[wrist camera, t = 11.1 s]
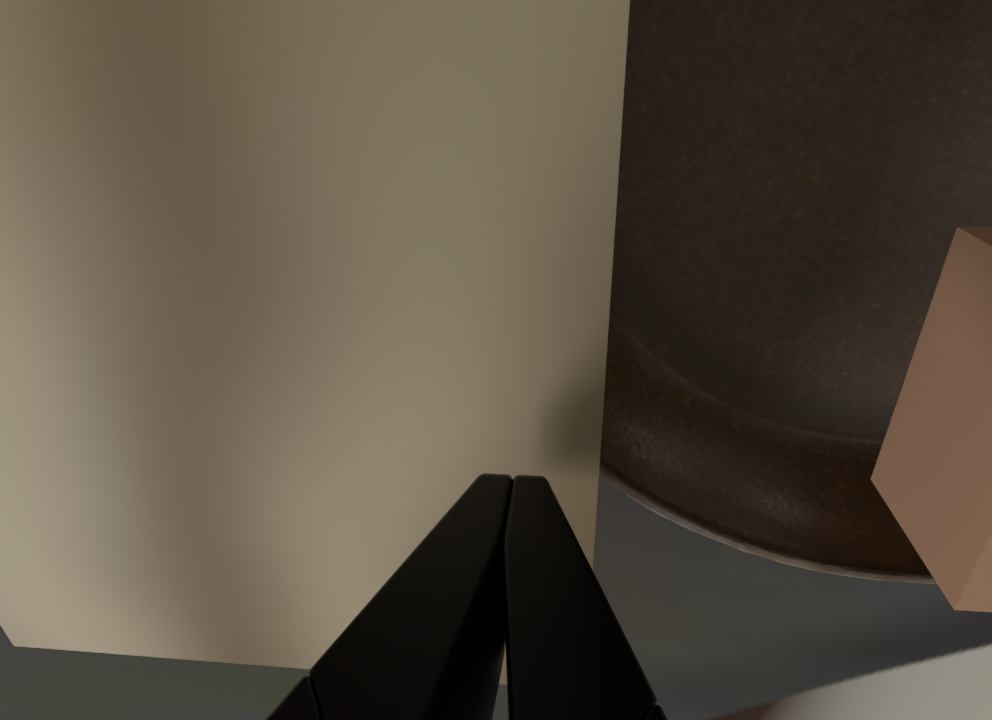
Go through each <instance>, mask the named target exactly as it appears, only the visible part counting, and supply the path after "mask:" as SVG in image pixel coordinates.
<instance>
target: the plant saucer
mask: <svg viewBox="0 0 992 720" xmlns="http://www.w3.org/2000/svg"><path fill="white" fill-rule="evenodd" d="M957 227H992V0H630V7H629V22H628V38H627V53H626V68H625V83H624V99H623V114H622V129H621V145H620V160H619V175H618V190H617V206H616V221H615V236H614V252H613V267H612V282H611V298H610V313H609V328H608V343H607V359H606V374H605V389H604V405H603V420H602V435H601V450H600V466H599V477H600V478H602V479H603V480H604V481H606V482H607V483H608V484H610V485H612V486H613V487H615V488H616V489H618V490H620V491H621V492H623V493H624V494H626V495H627V496H629V497H630V498H631V499H633V500H634V501H636V502H637V503H639V504H641V505H643V506H644V507H646V508H648V509H650V510H651V511H653V512H655V513H657V514H658V515H660V516H662V517H665V518H667V519H669V520H671V521H673V522H675V523H677V524H679V525H681V526H683V527H685V528H687V529H689V530H691V531H694V532H696V533H698V534H700V535H703V536H705V537H708V538H711V539H714V540H716V541H719V542H722V543H724V544H726V545H729V546H731V547H734V548H736V549H738V550H741V551H743V552H746V553H750V554H754V555H758V556H761V557H765V558H768V559H771V560H774V561H778V562H781V563H784V564H788V565H792V566H797V567H801V568H805V569H810V570H815V571H820V572H826V573H831V574H837V575H843V576H850V577H857V578H865V579H872V580H882V581H895V582H908V583H925V584H937V583H936V581H935V579H934V578H933V576H932V575H931V573H930V572H929V570H928V568H927V567H926V565H925V564H924V562H923V561H922V559H921V557H920V556H919V554H918V553H917V551H916V550H915V548H914V546H913V545H912V543H911V542H910V540H909V539H908V537H907V535H906V534H905V532H904V531H903V529H902V528H901V526H900V525H899V523H898V521H897V520H896V518H895V517H894V515H893V514H892V512H891V510H890V509H889V507H888V506H887V504H886V503H885V501H884V499H883V498H882V496H881V495H880V493H879V492H878V490H877V488H876V487H875V485H874V484H873V482H872V481H871V477H872V474H873V471H874V468H875V465H876V462H877V459H878V456H879V453H880V450H881V447H882V444H883V441H884V439H885V436H886V433H887V430H888V427H889V424H890V421H891V418H892V415H893V412H894V409H895V406H896V404H897V401H898V398H899V395H900V392H901V389H902V386H903V383H904V380H905V377H906V374H907V371H908V369H909V366H910V363H911V360H912V357H913V354H914V351H915V348H916V345H917V342H918V339H919V336H920V333H921V331H922V328H923V325H924V322H925V319H926V316H927V313H928V310H929V307H930V304H931V301H932V298H933V296H934V293H935V290H936V287H937V284H938V281H939V278H940V275H941V272H942V269H943V266H944V263H945V260H946V258H947V255H948V252H949V249H950V246H951V243H952V240H953V237H954V234H955V231H956V228H957Z"/></svg>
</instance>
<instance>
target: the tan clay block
mask: <svg viewBox="0 0 992 720" xmlns="http://www.w3.org/2000/svg"><path fill="white" fill-rule="evenodd" d="M871 481H872V482H873V484H874V485H875V487H876V488H877V490H878V492H879V493H880V495H881V496H882V498H883V499H884V501H885V503H886V504H887V506H888V507H889V509H890V510H891V512H892V514H893V515H894V517H895V518H896V520H897V521H898V523H899V525H900V526H901V528H902V529H903V531H904V532H905V534H906V535H907V537H908V539H909V540H910V542H911V543H912V545H913V546H914V548H915V550H916V551H917V553H918V554H919V556H920V557H921V559H922V561H923V562H924V564H925V565H926V567H927V568H928V570H929V572H930V573H931V575H932V576H933V578H934V579H935V581H936V583H937V584H938V586H939V587H940V589H941V590H942V592H943V593H944V595H945V597H946V598H947V600H948V601H949V603H950V604H951V606H952V608H953V609H954V610H964V611H981V612H992V227H957V228H956V231H955V234H954V237H953V240H952V243H951V246H950V249H949V252H948V255H947V258H946V260H945V263H944V266H943V269H942V272H941V275H940V278H939V281H938V284H937V287H936V290H935V293H934V296H933V298H932V301H931V304H930V307H929V310H928V313H927V316H926V319H925V322H924V325H923V328H922V331H921V333H920V336H919V339H918V342H917V345H916V348H915V351H914V354H913V357H912V360H911V363H910V366H909V369H908V371H907V374H906V377H905V380H904V383H903V386H902V389H901V392H900V395H899V398H898V401H897V404H896V406H895V409H894V412H893V415H892V418H891V421H890V424H889V427H888V430H887V433H886V436H885V439H884V441H883V444H882V447H881V450H880V453H879V456H878V459H877V462H876V465H875V468H874V471H873V474H872V477H871Z"/></svg>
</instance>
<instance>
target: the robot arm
mask: <svg viewBox="0 0 992 720" xmlns="http://www.w3.org/2000/svg"><path fill="white" fill-rule="evenodd" d="M505 645H506V673H507V695H508V717H509V720H667V718H666V716H665V714H664V712H663V710H662V708H661V707H660V706H659V705H656V703H657V700H656V697H655V695H654V693H653V691H652V689H651V687H650V685H649V683H648V681H647V679H646V677H645V675H644V673H643V671H642V669H641V667H640V665H639V663H638V661H637V659H636V657H635V655H634V652H633V650H632V648H631V646H630V644H629V642H628V640H627V638H626V636H625V634H624V632H623V630H622V628H621V626H620V624H619V622H618V620H617V618H616V616H615V614H614V612H613V610H612V608H611V606H610V604H609V602H608V600H607V598H606V596H605V594H604V592H603V590H602V588H601V586H600V584H599V582H598V580H597V578H596V576H595V574H594V572H593V570H592V568H591V566H590V564H589V562H588V560H587V558H586V556H585V554H584V552H583V550H582V548H581V546H580V544H579V542H578V540H577V538H576V536H575V534H574V532H573V530H572V528H571V526H570V524H569V522H568V520H567V518H566V516H565V514H564V512H563V510H562V508H561V506H560V504H559V502H558V500H557V498H556V496H555V494H554V492H553V490H552V488H551V486H550V484H549V482H548V480H547V479H546V478H545V477H544V476H534V475H517V476H515V477H514V479H512V477H511V476H510V475H508V474H491V473H484V474H481V475H479V476H478V477H477V478H476V479H475V481H474V482H473V483H472V484H471V485H470V486H469V487H468V489H467V490H466V491H465V492H464V493H463V494H462V495H461V497H460V498H459V499H458V500H457V501H456V502H455V503H454V505H453V506H452V507H451V508H450V509H449V510H448V512H447V513H446V514H445V515H444V516H443V517H442V518H441V520H440V521H439V522H438V523H437V524H436V525H435V526H434V528H433V529H432V530H431V531H430V532H429V533H428V534H427V536H426V537H425V538H424V539H423V540H422V541H421V543H420V544H419V545H418V546H417V547H416V548H415V549H414V551H413V552H412V553H411V554H410V555H409V556H408V557H407V559H406V560H405V561H404V562H403V563H402V564H401V565H400V567H399V568H398V569H397V570H396V571H395V572H394V574H393V575H392V576H391V577H390V578H389V579H388V580H387V582H386V583H385V584H384V585H383V586H382V587H381V588H380V590H379V591H378V592H377V593H376V594H375V595H374V596H373V598H372V599H371V600H370V601H369V602H368V603H367V605H366V606H365V607H364V608H363V609H362V610H361V611H360V613H359V614H358V615H357V616H356V617H355V618H354V619H353V621H352V622H351V623H350V624H349V625H348V626H347V627H346V629H345V630H344V631H343V632H342V633H341V634H340V636H339V637H338V638H337V639H336V640H335V641H334V642H333V644H332V645H331V646H330V647H329V648H328V649H327V650H326V652H325V653H324V654H323V655H322V656H321V657H320V658H319V660H318V661H317V662H316V663H315V664H314V665H313V667H312V668H311V669H310V671H309V674H310V677H309V676H303V677H302V678H301V680H300V681H299V682H298V683H297V684H296V685H295V687H294V688H293V689H292V690H291V691H290V692H289V694H288V695H287V696H286V697H285V698H284V699H283V700H282V702H281V703H280V704H279V705H278V706H277V707H276V708H275V709H274V711H273V712H272V713H271V714H270V715H269V716H268V717H267V718H266V719H265V720H492V716H493V711H494V706H495V701H496V696H497V691H498V686H499V681H500V676H501V671H502V665H503V659H504V653H505Z"/></svg>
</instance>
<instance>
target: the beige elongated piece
mask: <svg viewBox="0 0 992 720" xmlns="http://www.w3.org/2000/svg"><path fill="white" fill-rule="evenodd" d="M629 7H630V0H0V625H1V627H2V628H3V630H4V631H5V633H6V635H7V636H8V638H9V639H10V641H11V642H12V644H13V645H14V646H21V647H33V648H46V649H59V650H72V651H84V652H97V653H110V654H123V655H135V656H148V657H161V658H174V659H186V660H199V661H212V662H225V663H237V664H250V665H263V666H276V667H288V668H301V669H311V668H312V667H313V665H314V664H315V663H316V662H317V661H318V660H319V658H320V657H321V656H322V655H323V654H324V653H325V652H326V650H327V649H328V648H329V647H330V646H331V645H332V644H333V642H334V641H335V640H336V639H337V638H338V637H339V636H340V634H341V633H342V632H343V631H344V630H345V629H346V627H347V626H348V625H349V624H350V623H351V622H352V621H353V619H354V618H355V617H356V616H357V615H358V614H359V613H360V611H361V610H362V609H363V608H364V607H365V606H366V605H367V603H368V602H369V601H370V600H371V599H372V598H373V596H374V595H375V594H376V593H377V592H378V591H379V590H380V588H381V587H382V586H383V585H384V584H385V583H386V582H387V580H388V579H389V578H390V577H391V576H392V575H393V574H394V572H395V571H396V570H397V569H398V568H399V567H400V565H401V564H402V563H403V562H404V561H405V560H406V559H407V557H408V556H409V555H410V554H411V553H412V552H413V551H414V549H415V548H416V547H417V546H418V545H419V544H420V543H421V541H422V540H423V539H424V538H425V537H426V536H427V534H428V533H429V532H430V531H431V530H432V529H433V528H434V526H435V525H436V524H437V523H438V522H439V521H440V520H441V518H442V517H443V516H444V515H445V514H446V513H447V512H448V510H449V509H450V508H451V507H452V506H453V505H454V503H455V502H456V501H457V500H458V499H459V498H460V497H461V495H462V494H463V493H464V492H465V491H466V490H467V489H468V487H469V486H470V485H471V484H472V483H473V482H474V481H475V479H476V478H477V477H478V476H479V475H481V474H484V473H491V474H508V475H510V476H511V477H512V479H514V477H515V476H517V475H534V476H544V477H545V478H546V479H547V480H548V482H549V484H550V486H551V488H552V490H553V492H554V494H555V496H556V498H557V500H558V502H559V504H560V506H561V508H562V510H563V512H564V514H565V516H566V518H567V520H568V522H569V524H570V526H571V528H572V530H573V532H574V534H575V536H576V538H577V540H578V542H579V544H580V546H581V548H582V550H583V552H584V554H585V556H586V558H587V560H588V562H589V564H590V566H591V568H592V570H593V557H594V542H595V527H596V512H597V496H598V481H599V466H600V450H601V435H602V420H603V405H604V389H605V374H606V359H607V343H608V328H609V313H610V298H611V282H612V267H613V252H614V236H615V221H616V206H617V190H618V175H619V160H620V145H621V129H622V114H623V99H624V83H625V68H626V53H627V38H628V22H629ZM499 684H505V685H507V673H506V645H505V653H504V659H503V665H502V671H501V676H500V681H499Z"/></svg>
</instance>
